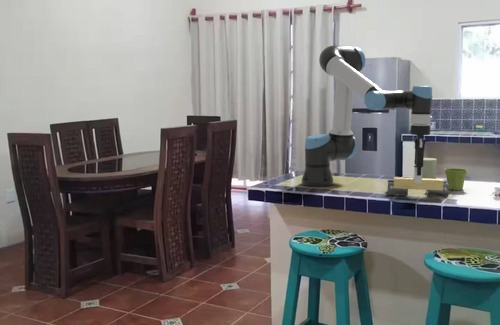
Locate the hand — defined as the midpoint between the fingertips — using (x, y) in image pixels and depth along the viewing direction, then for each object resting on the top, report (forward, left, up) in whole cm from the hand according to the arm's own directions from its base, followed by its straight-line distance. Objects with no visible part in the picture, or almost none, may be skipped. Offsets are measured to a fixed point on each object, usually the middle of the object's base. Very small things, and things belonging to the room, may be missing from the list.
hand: (417, 182), depth 207 cm
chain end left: (-8, +8, -6) cm, 13 cm away
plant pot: (+17, +21, -7) cm, 28 cm away
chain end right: (+8, +8, -6) cm, 13 cm away
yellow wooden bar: (0, 0, -3) cm, 3 cm away
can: (+6, +35, -7) cm, 36 cm away
